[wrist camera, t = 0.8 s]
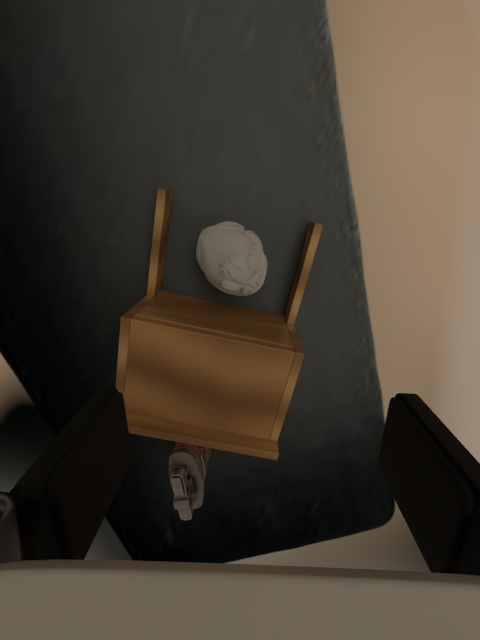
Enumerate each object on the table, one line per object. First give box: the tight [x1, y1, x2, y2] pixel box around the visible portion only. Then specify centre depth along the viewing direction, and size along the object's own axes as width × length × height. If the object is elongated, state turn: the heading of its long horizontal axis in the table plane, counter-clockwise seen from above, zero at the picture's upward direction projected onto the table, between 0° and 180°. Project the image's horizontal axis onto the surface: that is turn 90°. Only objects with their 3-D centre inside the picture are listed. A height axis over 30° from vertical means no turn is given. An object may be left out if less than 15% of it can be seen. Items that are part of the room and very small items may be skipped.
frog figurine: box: [196, 221, 267, 296], centre depth 28 cm, size 6×7×7 cm
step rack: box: [116, 188, 323, 460], centre depth 28 cm, size 20×15×10 cm
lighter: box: [169, 442, 211, 520], centre depth 34 cm, size 8×3×10 cm, turn 6°
